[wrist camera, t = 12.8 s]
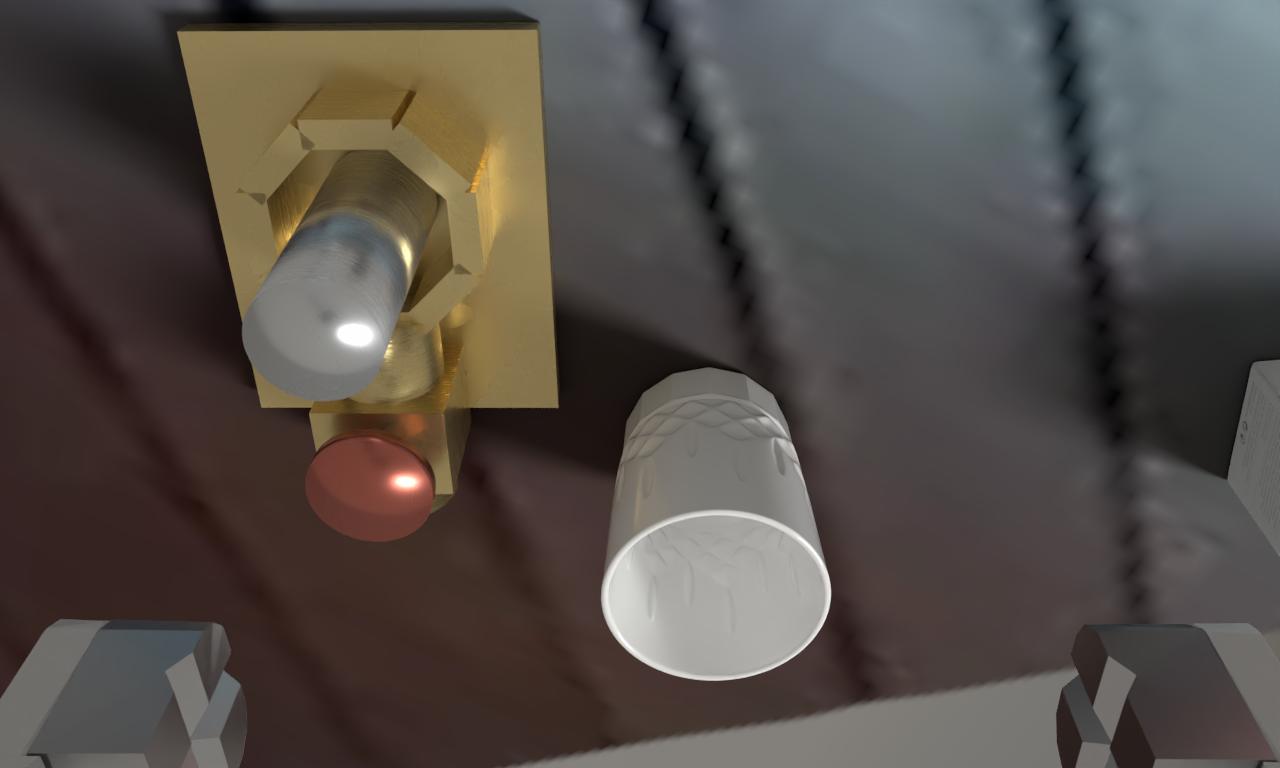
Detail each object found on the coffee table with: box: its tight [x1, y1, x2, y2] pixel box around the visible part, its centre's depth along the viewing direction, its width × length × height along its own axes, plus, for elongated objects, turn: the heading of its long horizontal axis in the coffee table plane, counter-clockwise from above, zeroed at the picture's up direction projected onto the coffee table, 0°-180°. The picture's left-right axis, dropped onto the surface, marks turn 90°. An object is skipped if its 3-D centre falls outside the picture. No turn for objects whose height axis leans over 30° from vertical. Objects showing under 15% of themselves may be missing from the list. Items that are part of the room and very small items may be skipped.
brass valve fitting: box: [177, 22, 560, 542], centre depth 40 cm, size 18×12×8 cm
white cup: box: [601, 367, 831, 681], centre depth 43 cm, size 8×8×10 cm
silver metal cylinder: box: [242, 150, 437, 401], centre depth 37 cm, size 4×4×10 cm
